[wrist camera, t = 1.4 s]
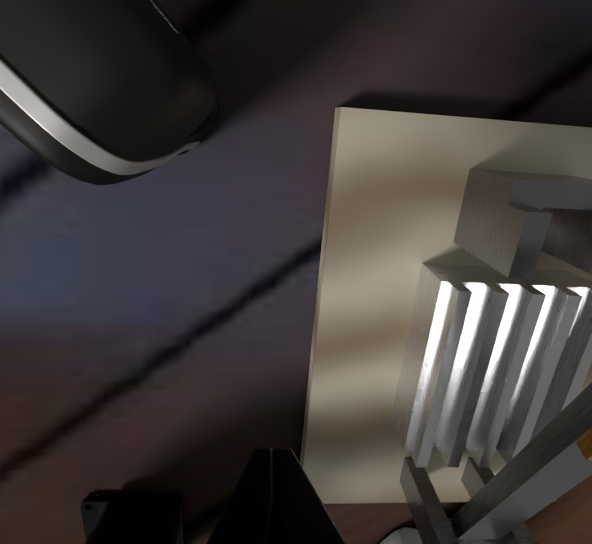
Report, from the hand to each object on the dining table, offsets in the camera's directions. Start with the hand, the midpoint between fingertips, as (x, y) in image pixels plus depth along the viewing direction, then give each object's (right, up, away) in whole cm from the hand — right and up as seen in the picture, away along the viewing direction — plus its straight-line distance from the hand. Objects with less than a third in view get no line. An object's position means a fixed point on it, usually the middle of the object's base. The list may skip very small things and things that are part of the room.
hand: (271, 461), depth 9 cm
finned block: (+11, 0, +13) cm, 17 cm away
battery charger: (-5, +13, +9) cm, 17 cm away
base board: (+10, 0, +15) cm, 18 cm away
